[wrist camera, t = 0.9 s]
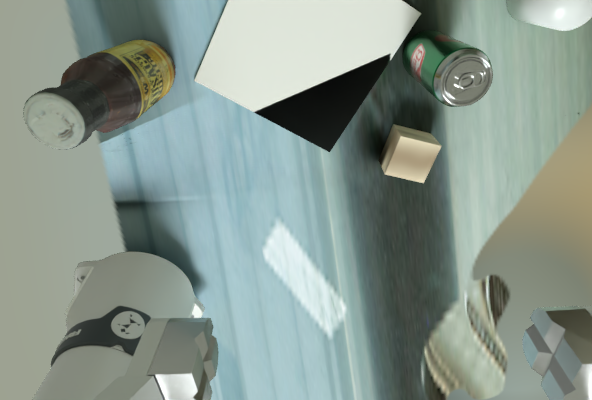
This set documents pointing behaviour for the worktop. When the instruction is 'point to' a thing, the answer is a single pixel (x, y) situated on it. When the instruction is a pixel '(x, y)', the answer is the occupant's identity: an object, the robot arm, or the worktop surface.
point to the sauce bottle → (100, 94)
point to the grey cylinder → (551, 12)
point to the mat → (304, 59)
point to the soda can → (448, 68)
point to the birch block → (409, 153)
